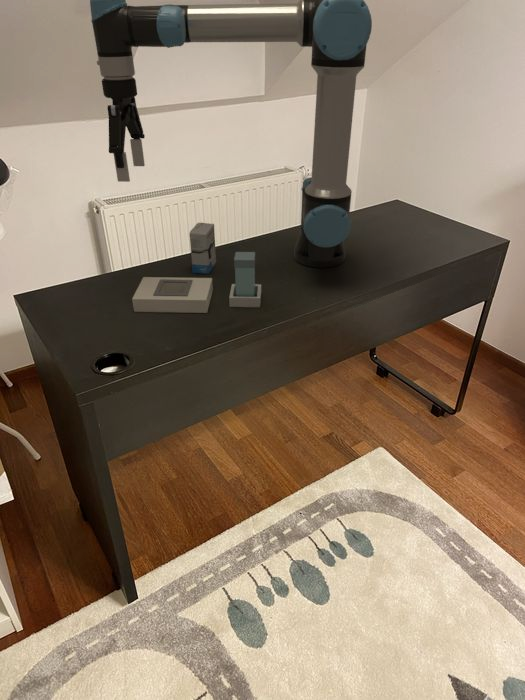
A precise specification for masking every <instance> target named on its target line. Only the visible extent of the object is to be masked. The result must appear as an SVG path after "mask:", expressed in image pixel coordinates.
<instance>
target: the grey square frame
mask: <svg viewBox="0 0 525 700" xmlns="http://www.w3.org/2000/svg"><path fill="white" fill-rule="evenodd" d="M255 295H256V296H255V297H237V296H236V283H232V284H231V287H230V292H229V298H228V302H229V308H261V302H262V284H259V283H255Z"/></svg>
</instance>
